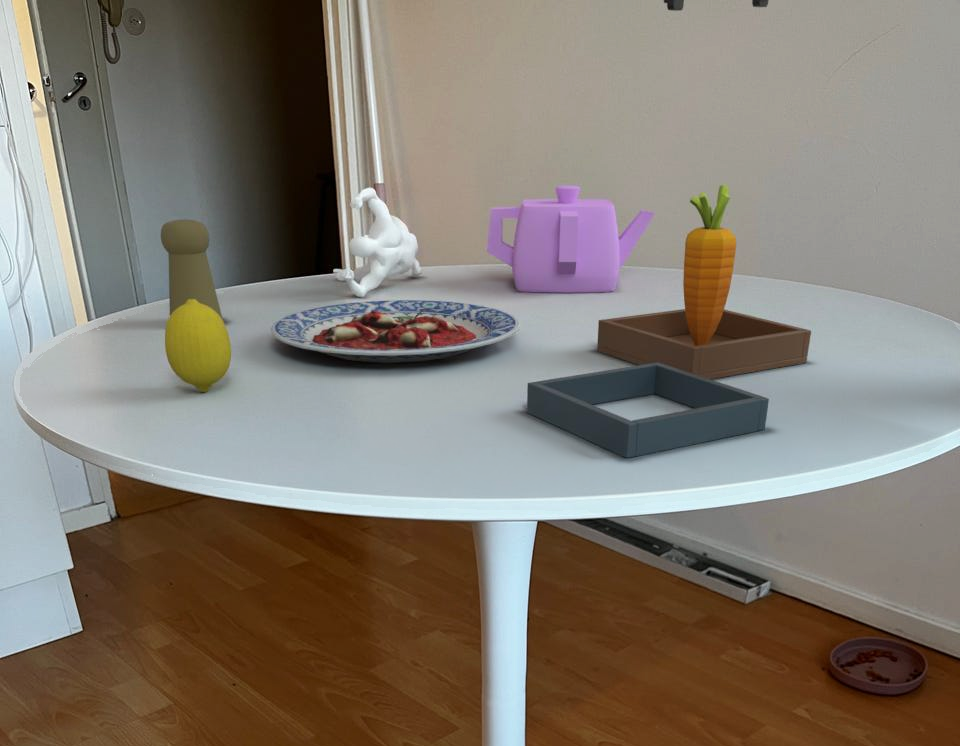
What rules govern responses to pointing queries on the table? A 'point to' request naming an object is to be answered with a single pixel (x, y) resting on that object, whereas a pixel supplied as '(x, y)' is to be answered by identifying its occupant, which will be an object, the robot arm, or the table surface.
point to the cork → (188, 264)
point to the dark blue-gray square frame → (711, 420)
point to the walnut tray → (727, 353)
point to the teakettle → (565, 243)
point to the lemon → (197, 345)
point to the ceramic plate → (395, 329)
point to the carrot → (708, 268)
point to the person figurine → (380, 248)
